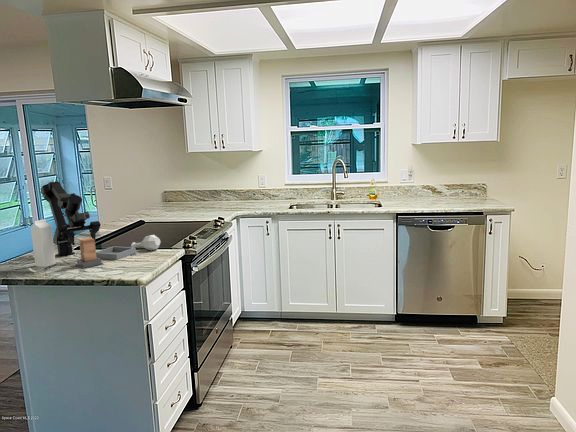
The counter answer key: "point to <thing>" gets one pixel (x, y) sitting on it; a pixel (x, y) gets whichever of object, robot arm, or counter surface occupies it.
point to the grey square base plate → (88, 263)
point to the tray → (115, 252)
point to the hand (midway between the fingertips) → (84, 243)
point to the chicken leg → (148, 243)
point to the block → (87, 249)
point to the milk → (43, 244)
